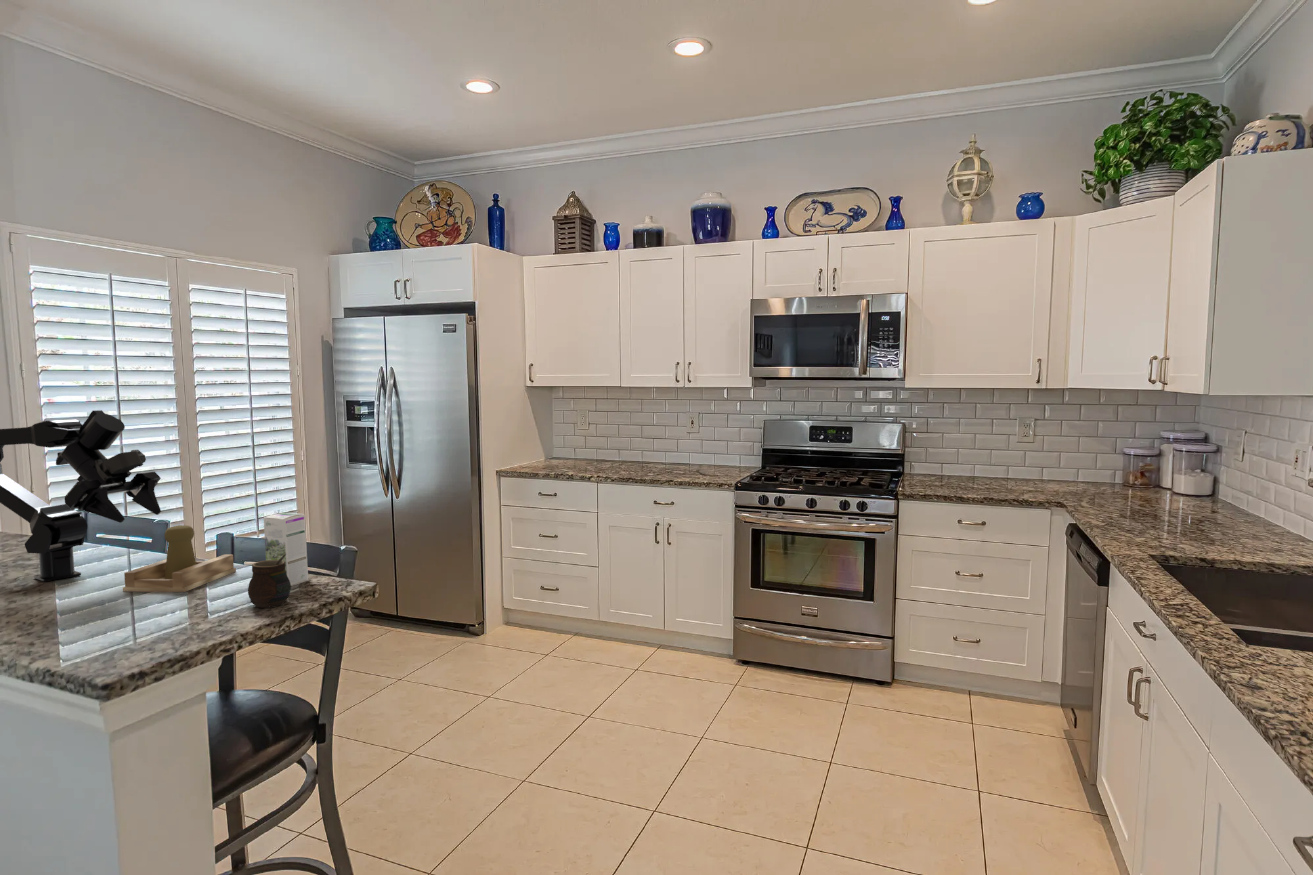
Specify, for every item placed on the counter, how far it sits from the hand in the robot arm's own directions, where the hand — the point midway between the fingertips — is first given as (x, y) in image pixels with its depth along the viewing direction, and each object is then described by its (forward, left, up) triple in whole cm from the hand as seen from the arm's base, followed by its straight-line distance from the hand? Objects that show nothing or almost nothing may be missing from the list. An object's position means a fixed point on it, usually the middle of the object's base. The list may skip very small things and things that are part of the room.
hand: (141, 517), depth 152 cm
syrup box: (+29, +15, -14) cm, 35 cm away
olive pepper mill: (+8, +4, -13) cm, 16 cm away
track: (+8, +4, -14) cm, 16 cm away
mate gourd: (+41, +5, -14) cm, 43 cm away
